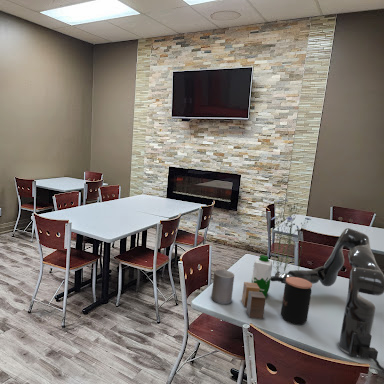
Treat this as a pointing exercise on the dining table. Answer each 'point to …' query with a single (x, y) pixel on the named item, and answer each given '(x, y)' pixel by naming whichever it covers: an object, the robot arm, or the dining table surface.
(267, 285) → the milk carton
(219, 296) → the pillar candle
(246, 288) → the oak block
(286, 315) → the coffee jar
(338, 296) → the dining table surface
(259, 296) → the walnut block
